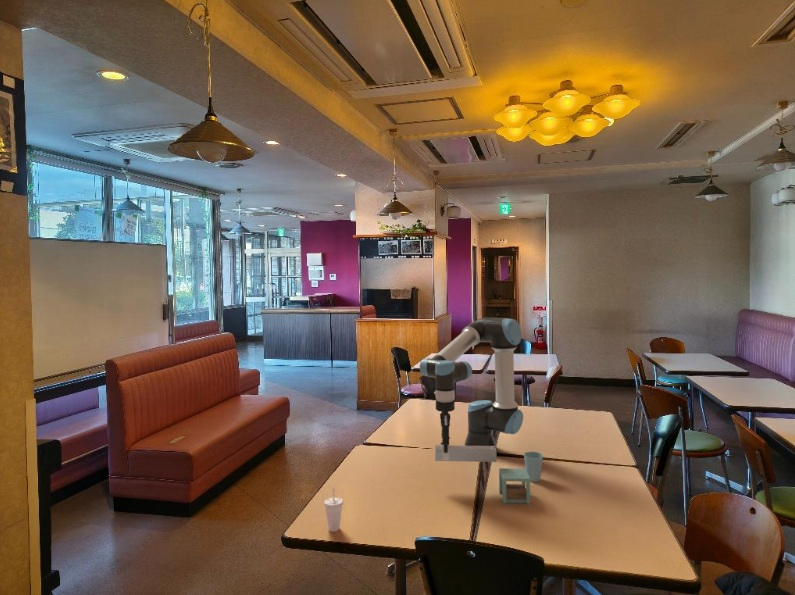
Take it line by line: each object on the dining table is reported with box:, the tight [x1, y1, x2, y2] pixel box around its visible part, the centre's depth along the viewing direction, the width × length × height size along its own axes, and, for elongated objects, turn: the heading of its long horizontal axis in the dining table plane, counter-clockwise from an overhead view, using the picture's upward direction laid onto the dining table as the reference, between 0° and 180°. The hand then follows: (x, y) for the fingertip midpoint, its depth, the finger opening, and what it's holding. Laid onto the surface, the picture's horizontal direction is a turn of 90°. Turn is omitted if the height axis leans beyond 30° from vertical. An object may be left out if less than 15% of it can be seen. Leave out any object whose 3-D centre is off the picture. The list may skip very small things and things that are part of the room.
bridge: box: [498, 467, 531, 505], centre depth 199 cm, size 10×10×10 cm
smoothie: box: [323, 487, 344, 533], centre depth 177 cm, size 6×6×14 cm
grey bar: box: [434, 444, 497, 463], centre depth 208 cm, size 4×24×5 cm, turn 88°
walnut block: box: [506, 483, 526, 499], centre depth 200 cm, size 5×8×4 cm, turn 87°
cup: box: [523, 451, 544, 483], centre depth 217 cm, size 8×8×10 cm
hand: (445, 457), depth 208 cm, fingers closed on grey bar, 4 cm apart
